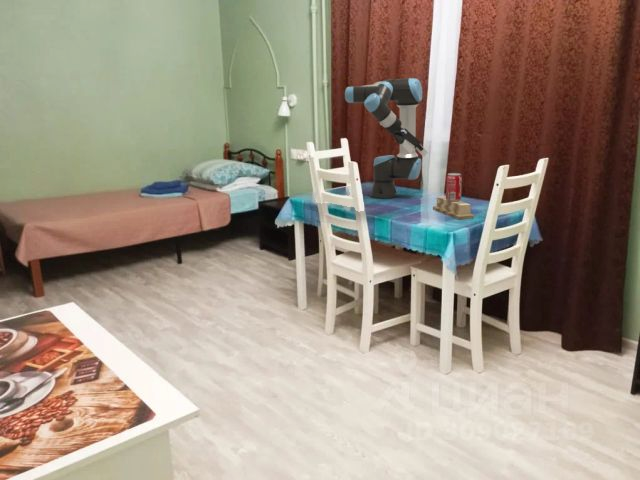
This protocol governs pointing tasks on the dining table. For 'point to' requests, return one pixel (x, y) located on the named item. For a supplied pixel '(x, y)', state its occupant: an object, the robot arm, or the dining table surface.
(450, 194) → the soda can
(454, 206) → the ridge
